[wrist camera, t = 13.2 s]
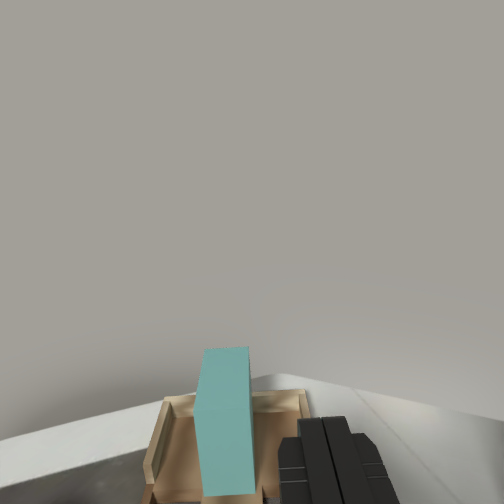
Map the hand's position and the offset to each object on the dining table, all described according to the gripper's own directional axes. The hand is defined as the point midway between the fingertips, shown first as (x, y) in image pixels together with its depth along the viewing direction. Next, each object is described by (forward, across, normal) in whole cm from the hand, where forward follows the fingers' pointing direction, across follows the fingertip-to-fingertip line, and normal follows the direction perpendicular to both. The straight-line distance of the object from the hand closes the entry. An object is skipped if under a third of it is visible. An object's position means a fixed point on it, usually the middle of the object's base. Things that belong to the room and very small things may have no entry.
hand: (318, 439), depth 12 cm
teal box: (+29, +6, +30) cm, 42 cm away
